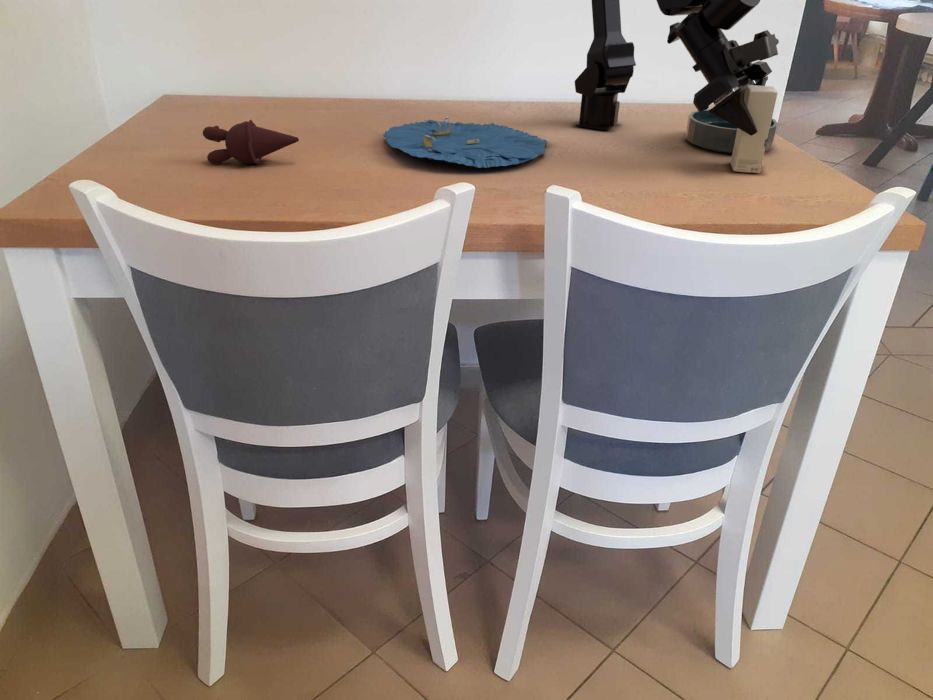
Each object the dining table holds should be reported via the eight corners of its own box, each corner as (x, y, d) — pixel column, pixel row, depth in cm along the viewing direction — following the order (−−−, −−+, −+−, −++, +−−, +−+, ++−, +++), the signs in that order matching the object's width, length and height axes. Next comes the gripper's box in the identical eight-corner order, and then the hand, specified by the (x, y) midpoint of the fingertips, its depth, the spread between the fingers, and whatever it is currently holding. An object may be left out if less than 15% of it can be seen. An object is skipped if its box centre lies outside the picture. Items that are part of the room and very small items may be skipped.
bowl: (676, 148, 132) (681, 122, 129) (694, 128, 143) (698, 105, 141) (765, 161, 126) (771, 134, 124) (776, 140, 138) (782, 115, 136)
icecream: (300, 116, 120) (208, 123, 120) (290, 115, 113) (193, 123, 113) (306, 160, 122) (215, 167, 122) (297, 162, 115) (201, 169, 115)
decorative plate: (443, 123, 147) (443, 96, 145) (576, 149, 133) (579, 119, 130) (339, 150, 126) (338, 119, 123) (484, 184, 111) (486, 149, 109)
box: (760, 174, 120) (779, 92, 113) (732, 172, 120) (749, 90, 114) (756, 164, 124) (774, 85, 117) (728, 162, 125) (745, 83, 118)
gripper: (729, 18, 106) (787, 109, 106) (772, 7, 118) (825, 89, 118) (669, 68, 114) (723, 153, 114) (716, 53, 127) (765, 130, 127)
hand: (761, 130), depth 118 cm, fingers closed on box, 6 cm apart
